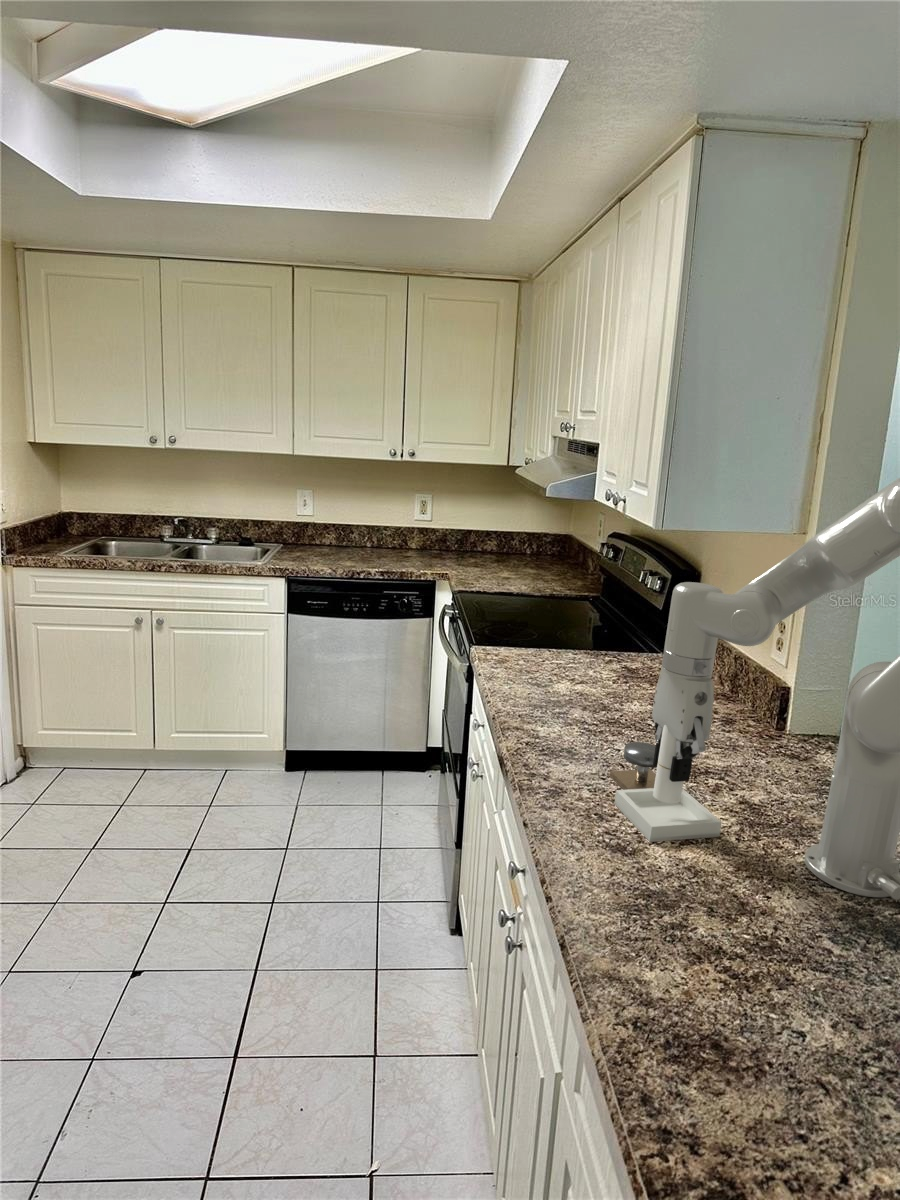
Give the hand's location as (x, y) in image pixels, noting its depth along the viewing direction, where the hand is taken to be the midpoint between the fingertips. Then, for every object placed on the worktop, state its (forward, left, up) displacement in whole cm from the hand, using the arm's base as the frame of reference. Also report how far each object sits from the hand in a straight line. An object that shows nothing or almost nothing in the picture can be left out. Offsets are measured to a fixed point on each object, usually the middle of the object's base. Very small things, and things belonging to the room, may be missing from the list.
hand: (670, 772), depth 122 cm
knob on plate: (+12, -2, -8) cm, 15 cm away
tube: (0, 0, -5) cm, 5 cm away
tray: (0, 0, -8) cm, 8 cm away
